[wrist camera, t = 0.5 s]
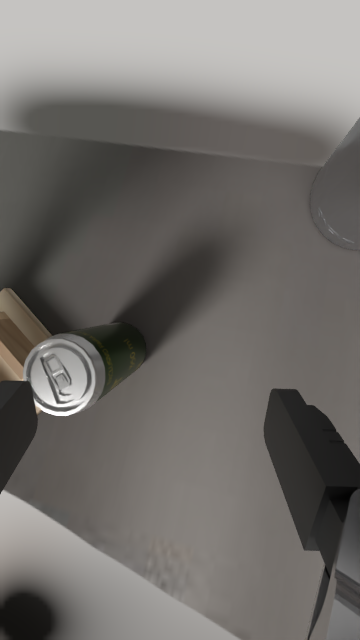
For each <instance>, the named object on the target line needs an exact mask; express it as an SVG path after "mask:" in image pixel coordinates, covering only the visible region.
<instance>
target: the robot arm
mask: <svg viewBox="0 0 360 640" xmlns="http://www.w3.org/2000/svg"><path fill="white" fill-rule="evenodd" d="M310 209H311V214H312V218H313V220H314V222H315V224H316V226H317V228H318V229H319V230H320V232H321V233H322V234H323V235H324V236H325V237H326V238H327V239H329V240H330V241H331V242H333V243H335V244H337V245H338V246H340V247H344V248H347V249H351V250H360V118H359V119H358V121H357V122H356V123H355V125H354V126H353V127H352V129H351V130H350V131H349V133H348V134H347V135H346V137H345V138H344V139H343V141H342V142H341V143H340V144H339V146H338V147H337V148H336V150H335V151H334V153H333V154H332V155H331V157H330V158H329V159H328V161H327V162H326V163H325V165H324V166H323V167H322V169H321V170H320V172H319V173H318V174H317V177H316V179H315V181H314V183H313V186H312V190H311V194H310ZM37 424H38V418H37V413H36V407H35V402H34V397H33V391H32V386H31V384H30V382H29V381H10V380H4V381H1V382H0V494H1V492H2V490H3V489H4V487H5V485H6V484H7V482H8V480H9V478H10V477H11V475H12V473H13V472H14V470H15V468H16V467H17V465H18V463H19V462H20V460H21V458H22V456H23V455H24V453H25V451H26V450H27V448H28V446H29V445H30V443H31V441H32V440H33V438H34V436H35V433H36V430H37ZM264 438H265V443H266V446H267V449H268V452H269V454H270V457H271V460H272V463H273V465H274V468H275V471H276V474H277V477H278V479H279V482H280V485H281V488H282V490H283V493H284V496H285V499H286V501H287V504H288V507H289V510H290V513H291V515H292V518H293V521H294V524H295V526H296V529H297V532H298V535H299V538H300V540H301V543H302V546H303V549H304V550H309V551H320V553H321V555H322V558H323V560H324V563H325V564H324V566H323V569H322V572H321V576H320V581H319V585H318V589H317V593H316V597H315V601H314V605H313V609H312V613H311V617H310V621H309V625H308V629H307V633H306V637H305V640H360V464H359V462H358V461H357V459H356V458H355V456H354V455H353V453H352V452H351V451H350V449H349V448H348V446H347V445H346V444H344V440H343V439H342V437H341V436H340V434H339V433H338V432H336V429H335V427H334V426H333V424H332V423H331V421H330V420H329V418H328V417H327V416H326V415H325V414H323V413H322V412H321V411H320V410H318V409H317V408H316V407H315V406H314V405H306V403H305V401H304V400H303V398H302V397H301V395H300V393H299V392H298V391H297V390H296V389H272V390H271V393H270V397H269V402H268V407H267V412H266V417H265V422H264Z"/></svg>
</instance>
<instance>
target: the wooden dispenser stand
mask: <svg viewBox="0 0 360 640" xmlns="http://www.w3.org/2000/svg"><path fill="white" fill-rule="evenodd" d="M51 336H52V335H51V334H50V333H49V331H48V330H47V329H46V328H45V327H44V326H43V325H42V323H41V322H40V321H39V320H38V319H37V318H36V316H35V315H34V314H33V313H32V312H31V311H30V310H29V308H28V307H27V306H26V305H25V304H24V303H23V302H22V300H21V299H20V298H19V297H18V296H17V295H16V294H15V292H14V291H13V290H12V289H11V288H4V289H3V290H2V291H1V292H0V382H1V381H4V380H10V381H23V368H24V364H25V360H26V358H27V357H28V355H29V353H30V352H31V350H32V349H33V348H35V347H36V346H37V345H38V344H39V343H41V342H43V341H45V340H46V339H47V338H49V337H51ZM35 407H36V413H37V415H38V414H39V413H40V412H41V411H42V410H41V409H40V408H39V407H38V406H36V405H35Z"/></svg>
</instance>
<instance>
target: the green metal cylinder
mask: <svg viewBox="0 0 360 640" xmlns="http://www.w3.org/2000/svg"><path fill="white" fill-rule="evenodd" d="M145 355H146V344H145V341H144V338H143V336H142V335H141V333H140V332H139V331H138V329H136V328H135V327H133V326H132V325H130V324H127V323H123V322H122V323H111V324H106V325H101V326H96V327H91V328H85V329H80V330H75V331H70V332H65V333H60V334H57V335H54V336H51V337H49V338H47V339H46V340H45V341H43V342H41V343H39V344H38V345H37V346H36V347H35V348H33V349H32V350H31V352H30V353H29V355H28V357H27V358H26V360H25V364H24V368H23V381H29V382H30V384H31V386H32V391H33V397H34V402H35V405H36V406H38V407H39V408H40V409H41V410H43V411H44V412H47V413H50V414H52V415H59V416H67V415H70V414H73V413H77V412H80V411H83V410H86V409H88V408H89V407H90V406H92V405H93V404H94V403H96V402H97V401H98V400H99V399H101V398H102V397H103V396H104V395H106V394H107V393H108V392H109V391H111V390H112V389H113V388H114V387H116V386H117V385H118V384H119V383H121V382H122V381H123V380H124V379H126V378H127V377H128V376H129V375H131V374H132V373H133V372H134V371H136V370H137V369H138V368H139V367H140V366H141V364H142V363H143V361H144V359H145Z"/></svg>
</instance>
